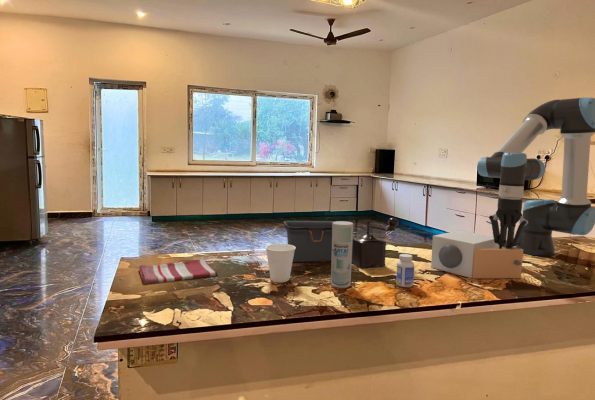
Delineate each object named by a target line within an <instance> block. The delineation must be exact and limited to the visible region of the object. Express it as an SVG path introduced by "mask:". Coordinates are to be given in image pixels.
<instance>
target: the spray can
mask: <svg viewBox="0 0 595 400" xmlns="http://www.w3.org/2000/svg"><path fill="white" fill-rule="evenodd" d="M353 238H354V223H353V222H351V221H344V220H342V221H341V220H339V221H338V220H337V221H333V224H332V261H331V269H330V272H331V273H330V279H331V280H330V285H331V286H332V287H334V288H339V289H345V288H349V287H351V285H352V284H351V282H352V280H351V278H352V264H353V263H352V241H353Z"/></svg>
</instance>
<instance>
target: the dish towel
mask: <svg viewBox="0 0 595 400" xmlns="http://www.w3.org/2000/svg"><path fill="white" fill-rule="evenodd" d="M139 273H140V276H141V279H142V283H143V284H144V285H151V284H160V283H168V282H169V283H170V282H176V281H177V282H178V280H179V281H185V279H186V280H194V279H195V278H196V279H202V278H203V279H204V278H211V277H217V276H219V275H218V272H217V270H215V269H214V268H213V267H212V266H211V265H210V264H209V263H208V262H207V261H206V260H205V259H194V260H193V259H191V260H185V261H182V262H168V263H163V264H160V265H159V264H156V265H146V264H140V266H139Z"/></svg>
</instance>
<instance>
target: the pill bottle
mask: <svg viewBox="0 0 595 400" xmlns="http://www.w3.org/2000/svg"><path fill="white" fill-rule="evenodd" d="M395 279H396V281H395V282H396V285H397V286H399V287H402V288H411V287H413V286H414V284H415V283H414V282H415V263H414V262H413V255H412V254H409V253H400V254H399V261H397V262H396V278H395Z"/></svg>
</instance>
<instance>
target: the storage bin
mask: <svg viewBox="0 0 595 400" xmlns="http://www.w3.org/2000/svg"><path fill="white" fill-rule="evenodd" d="M333 222H334V221H332V220H285V221H283V224H284V226H283V227H284V229H285V230H286V234H287V235H286V236H287V244H289V245H293V246H295V247H296V249H295V251H294V257H293V262H292V263H300V262H301V263H302V262H303V263H304V262H332V224H333Z"/></svg>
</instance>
